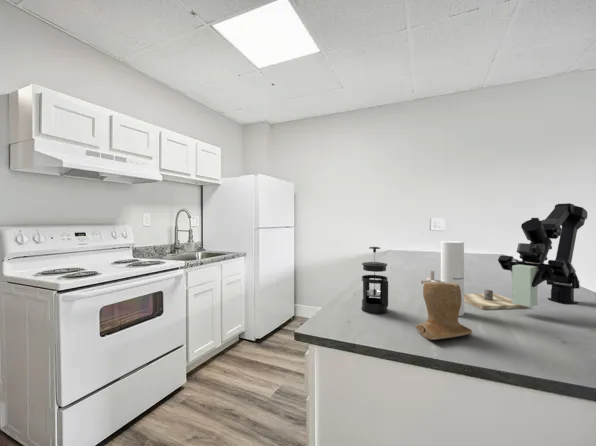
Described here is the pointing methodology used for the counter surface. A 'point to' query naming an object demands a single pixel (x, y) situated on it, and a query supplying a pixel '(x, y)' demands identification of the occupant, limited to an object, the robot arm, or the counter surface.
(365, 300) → the french press
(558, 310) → the counter surface
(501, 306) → the post base
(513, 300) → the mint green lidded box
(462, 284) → the cylindrical container
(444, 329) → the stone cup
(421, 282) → the beige crossed rods
